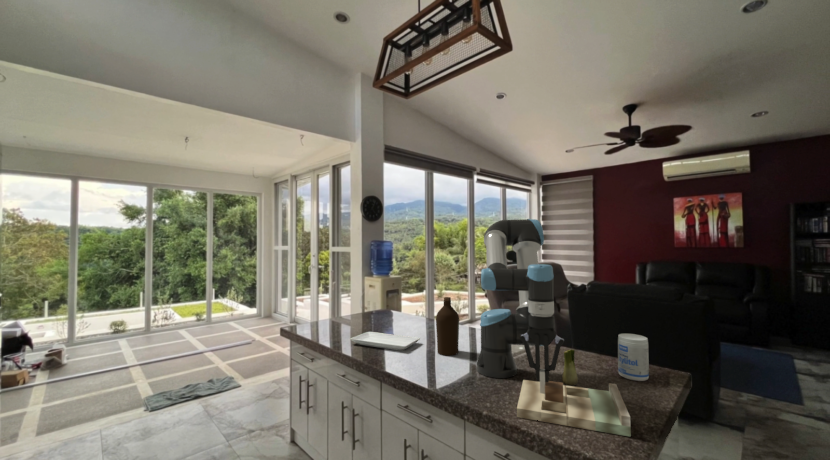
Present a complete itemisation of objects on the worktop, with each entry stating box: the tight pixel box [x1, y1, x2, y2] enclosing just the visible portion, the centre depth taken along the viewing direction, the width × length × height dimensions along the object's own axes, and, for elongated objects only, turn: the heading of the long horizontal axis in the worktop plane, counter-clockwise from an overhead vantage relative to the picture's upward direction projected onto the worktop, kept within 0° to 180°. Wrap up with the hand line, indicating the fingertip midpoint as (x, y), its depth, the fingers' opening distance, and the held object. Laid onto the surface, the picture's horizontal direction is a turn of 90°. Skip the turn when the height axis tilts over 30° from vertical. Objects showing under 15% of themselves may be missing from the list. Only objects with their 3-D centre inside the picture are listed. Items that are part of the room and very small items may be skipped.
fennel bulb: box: [561, 349, 579, 386], centre depth 121 cm, size 6×5×12 cm
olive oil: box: [435, 296, 460, 357], centre depth 158 cm, size 11×11×25 cm
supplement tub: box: [617, 333, 650, 382], centre depth 128 cm, size 10×10×15 cm
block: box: [545, 380, 564, 403], centre depth 105 cm, size 5×5×4 cm
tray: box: [349, 331, 421, 352], centre depth 171 cm, size 17×31×4 cm, turn 64°
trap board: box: [516, 379, 632, 437], centre depth 104 cm, size 28×22×5 cm
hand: (542, 391), depth 106 cm, fingers closed
